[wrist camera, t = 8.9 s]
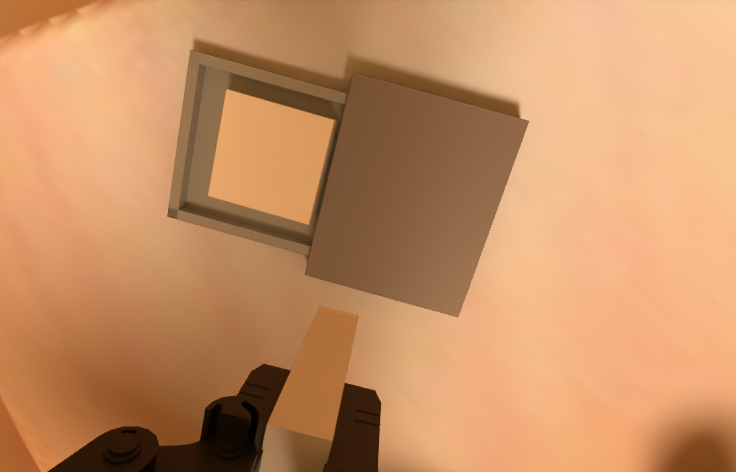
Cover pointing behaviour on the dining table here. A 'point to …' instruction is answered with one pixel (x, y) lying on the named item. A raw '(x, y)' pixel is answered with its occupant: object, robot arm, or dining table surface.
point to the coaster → (271, 157)
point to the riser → (412, 194)
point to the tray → (200, 144)
